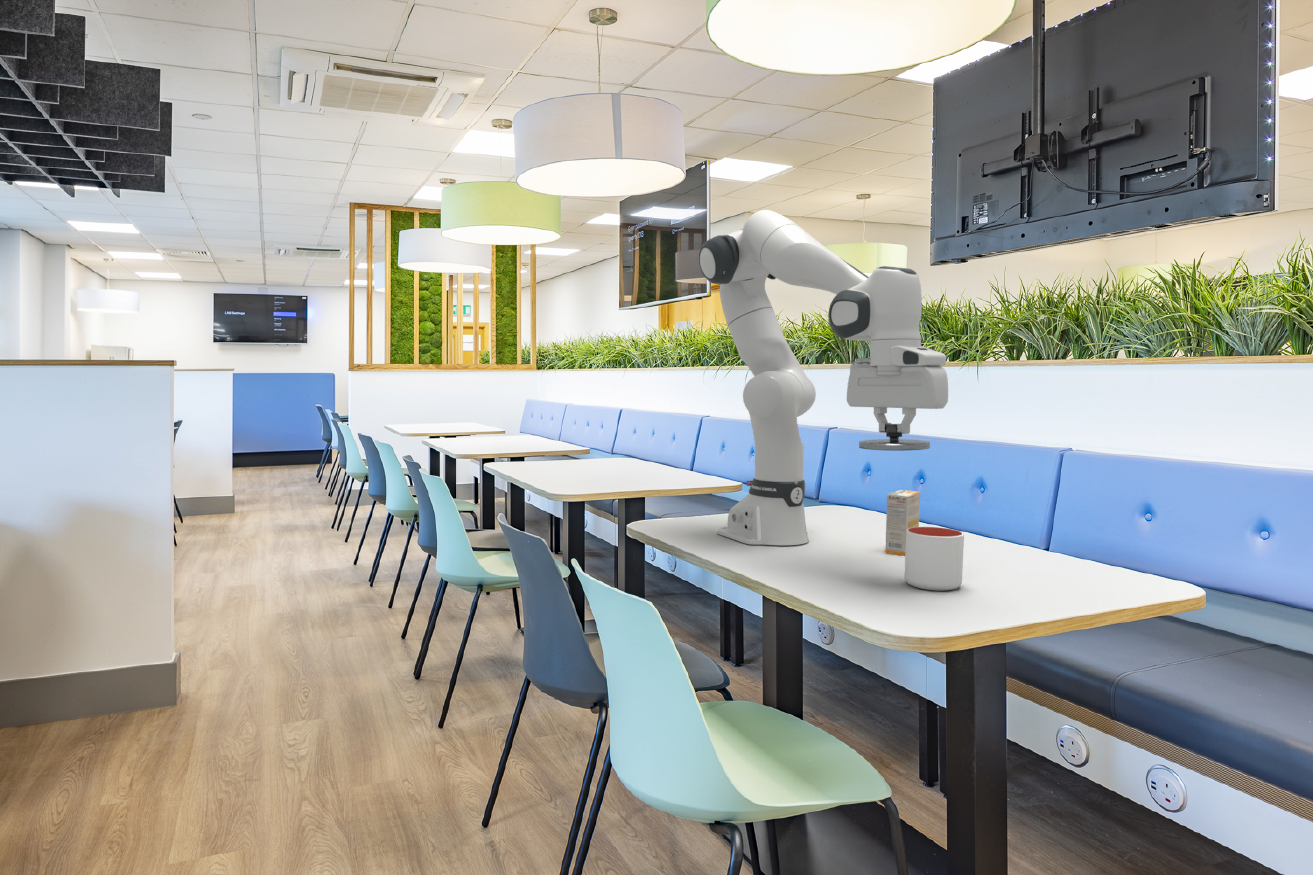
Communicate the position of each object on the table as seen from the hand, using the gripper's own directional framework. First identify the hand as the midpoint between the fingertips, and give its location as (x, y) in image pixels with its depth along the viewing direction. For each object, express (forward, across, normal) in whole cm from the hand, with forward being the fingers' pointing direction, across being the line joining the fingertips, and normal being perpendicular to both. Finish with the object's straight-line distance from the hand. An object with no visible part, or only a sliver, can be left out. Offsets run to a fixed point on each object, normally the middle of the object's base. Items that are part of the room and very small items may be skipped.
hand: (894, 433), depth 152 cm
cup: (+28, +5, +6) cm, 29 cm away
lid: (+3, 0, 0) cm, 3 cm away
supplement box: (+28, -18, +25) cm, 42 cm away
